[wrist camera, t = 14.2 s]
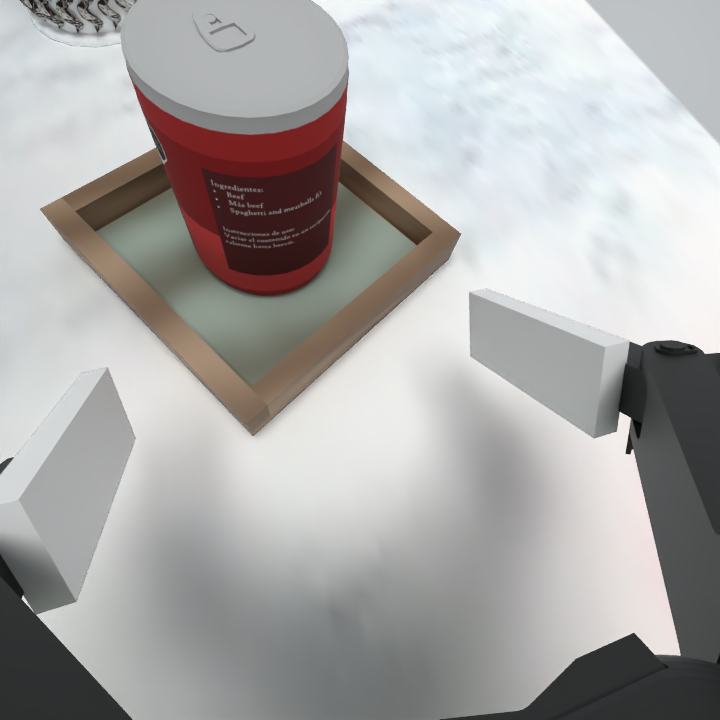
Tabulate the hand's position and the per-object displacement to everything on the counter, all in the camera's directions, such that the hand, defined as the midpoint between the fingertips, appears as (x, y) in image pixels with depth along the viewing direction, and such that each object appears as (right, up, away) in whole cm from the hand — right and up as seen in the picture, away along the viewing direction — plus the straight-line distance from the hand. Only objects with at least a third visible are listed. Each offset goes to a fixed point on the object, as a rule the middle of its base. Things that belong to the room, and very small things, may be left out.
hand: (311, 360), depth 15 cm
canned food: (-4, +7, +9) cm, 12 cm away
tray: (-4, +7, +10) cm, 13 cm away
